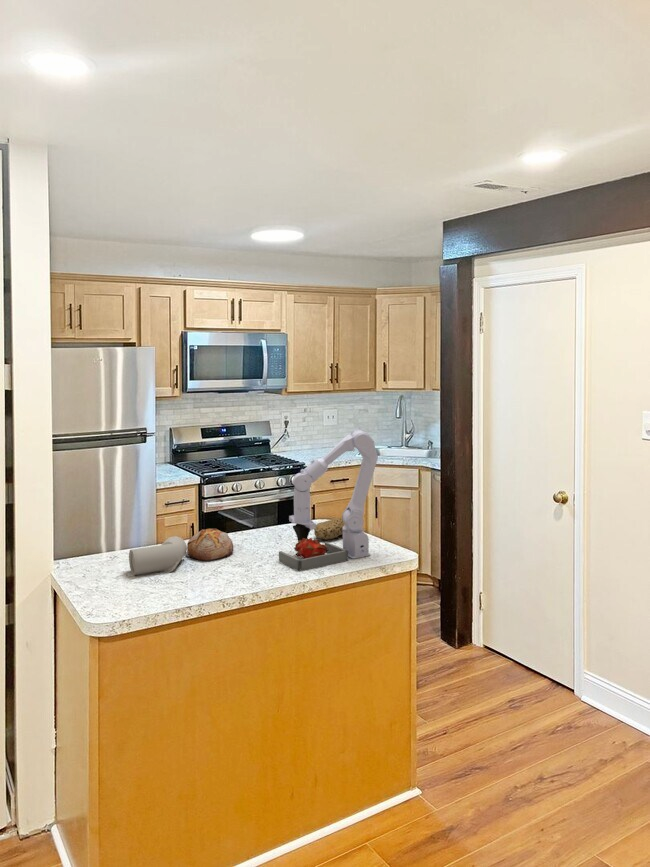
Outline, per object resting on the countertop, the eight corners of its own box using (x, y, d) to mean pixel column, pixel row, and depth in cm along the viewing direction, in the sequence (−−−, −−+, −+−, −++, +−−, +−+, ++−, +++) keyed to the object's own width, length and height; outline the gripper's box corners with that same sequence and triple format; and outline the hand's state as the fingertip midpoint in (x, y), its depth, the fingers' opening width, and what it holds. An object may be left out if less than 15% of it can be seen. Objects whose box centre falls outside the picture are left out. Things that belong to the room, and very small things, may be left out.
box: (348, 560, 242) (348, 550, 242) (298, 571, 231) (298, 560, 231) (326, 551, 253) (326, 542, 252) (278, 561, 242) (278, 551, 241)
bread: (186, 566, 241) (184, 538, 240) (189, 549, 260) (186, 523, 259) (234, 560, 243) (232, 532, 242) (233, 544, 263) (231, 518, 261)
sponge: (347, 532, 284) (303, 528, 274) (352, 514, 282) (308, 509, 273) (362, 546, 272) (317, 542, 263) (368, 527, 271) (322, 523, 261)
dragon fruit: (291, 563, 244) (325, 568, 244) (292, 555, 237) (327, 560, 237) (295, 540, 248) (329, 545, 248) (296, 532, 241) (330, 537, 241)
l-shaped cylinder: (180, 574, 225) (193, 555, 245) (172, 543, 224) (185, 527, 244) (127, 586, 226) (144, 566, 246) (118, 555, 225) (136, 538, 245)
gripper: (281, 505, 249) (282, 542, 251) (303, 513, 237) (303, 552, 239) (298, 502, 253) (298, 539, 255) (320, 510, 241) (321, 548, 243)
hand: (302, 545), depth 247 cm, fingers closed
